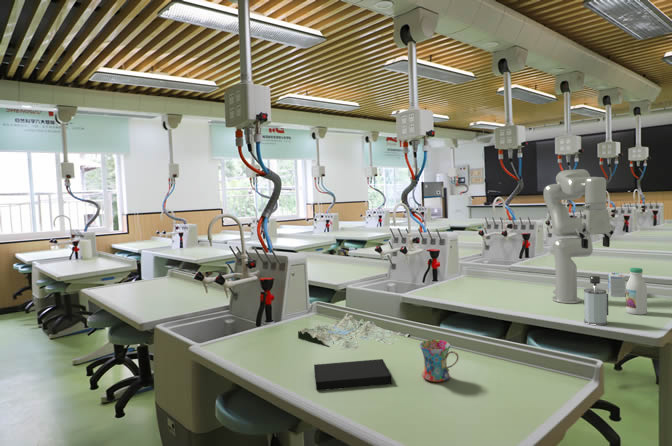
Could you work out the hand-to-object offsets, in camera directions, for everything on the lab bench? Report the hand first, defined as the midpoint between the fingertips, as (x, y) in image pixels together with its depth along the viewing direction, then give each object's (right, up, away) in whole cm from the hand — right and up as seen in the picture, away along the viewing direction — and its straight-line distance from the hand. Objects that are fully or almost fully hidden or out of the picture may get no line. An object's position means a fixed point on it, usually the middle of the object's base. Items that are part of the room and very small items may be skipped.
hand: (595, 247), depth 184 cm
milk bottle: (+24, -30, +10) cm, 40 cm away
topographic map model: (-102, -38, -5) cm, 109 cm away
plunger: (-1, -27, -2) cm, 27 cm away
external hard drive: (-105, -40, -45) cm, 121 cm away
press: (-1, -32, -1) cm, 32 cm away
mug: (-77, -38, -49) cm, 99 cm away
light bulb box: (+37, -27, +43) cm, 63 cm away
